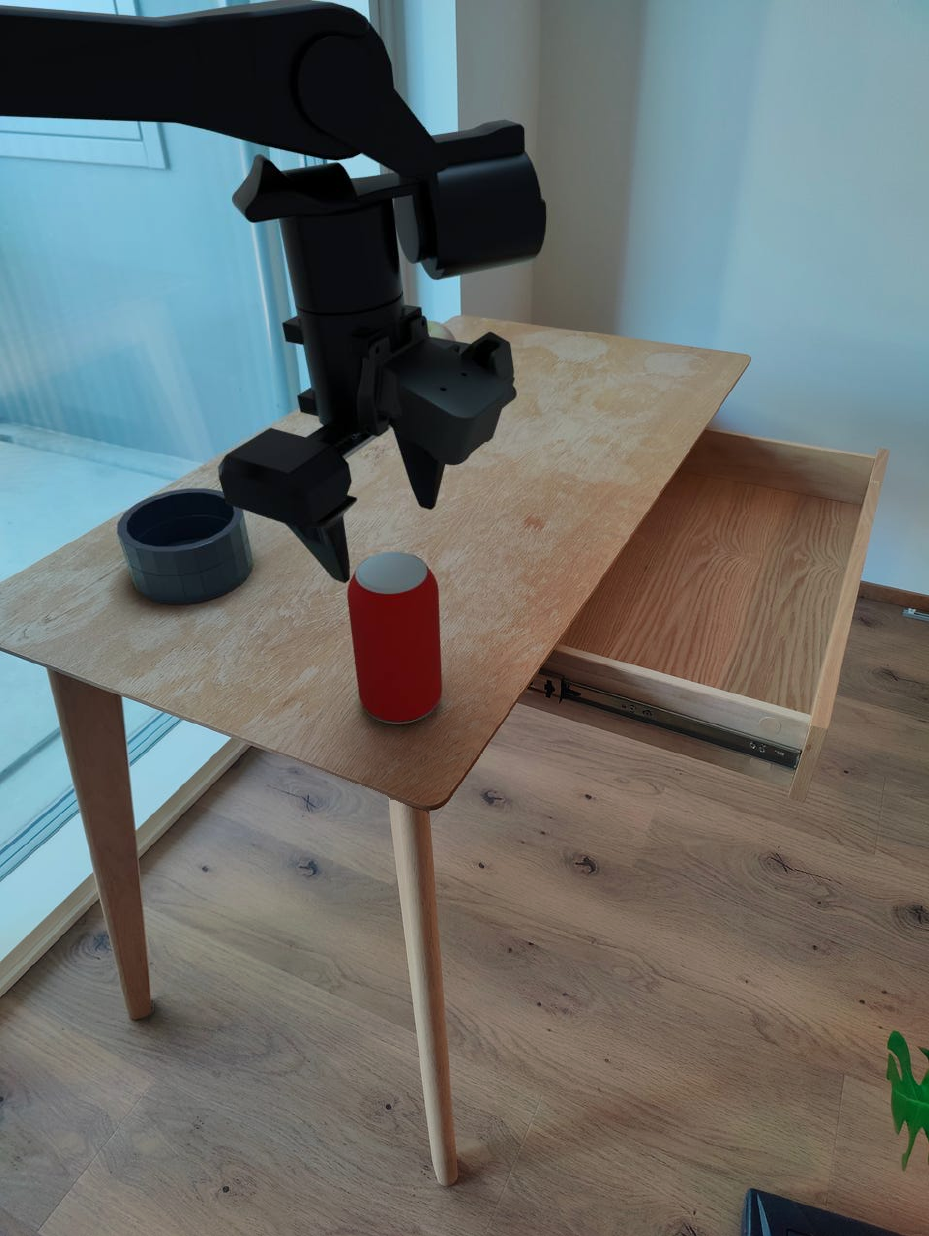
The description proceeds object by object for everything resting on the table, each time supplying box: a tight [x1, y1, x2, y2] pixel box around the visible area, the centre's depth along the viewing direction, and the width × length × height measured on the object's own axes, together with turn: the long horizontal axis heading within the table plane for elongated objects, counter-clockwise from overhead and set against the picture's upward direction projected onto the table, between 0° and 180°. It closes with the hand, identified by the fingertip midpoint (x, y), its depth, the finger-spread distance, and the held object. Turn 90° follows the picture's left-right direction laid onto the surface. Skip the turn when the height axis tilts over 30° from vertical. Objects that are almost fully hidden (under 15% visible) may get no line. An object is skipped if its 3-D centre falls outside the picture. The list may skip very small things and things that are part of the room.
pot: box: [116, 487, 254, 605], centre depth 74 cm, size 11×11×6 cm
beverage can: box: [346, 550, 443, 725], centre depth 59 cm, size 6×6×12 cm
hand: (386, 541), depth 54 cm, fingers open, 9 cm apart
